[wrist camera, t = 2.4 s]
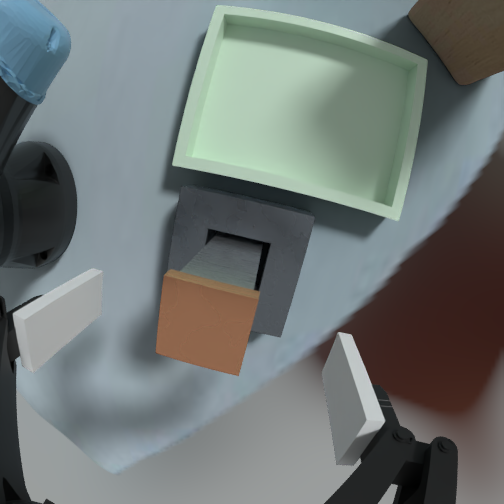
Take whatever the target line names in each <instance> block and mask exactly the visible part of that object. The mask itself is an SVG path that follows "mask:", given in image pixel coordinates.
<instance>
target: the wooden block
mask: <svg viewBox="0 0 504 504" xmlns="http://www.w3.org/2000/svg"><path fill="white" fill-rule="evenodd" d="M408 16H409V18H410V20H411V22H412V23H413V24H414V25H415V26H416V27H417V29H418V30H419V31H420V32H421V34H422V35H423V36H424V37H425V39H426V40H427V41H428V43H429V44H430V45H431V47H432V48H433V49H434V51H435V52H436V53H437V55H438V56H439V57H440V59H441V60H442V62H443V63H444V65H445V66H446V67H447V69H448V70H449V72H450V73H451V75H452V77H453V78H454V80H455V81H456V82H457V83H458V84H459V85H468V84H471V83H473V82H476V81H478V80H481V79H483V78H486V77H489V76H491V75H494V74H496V73H499V72H502V71H504V0H418V2H417V3H416V4H415V5H414V6H413V7H412V8H411V10H410V11H409V13H408Z"/></svg>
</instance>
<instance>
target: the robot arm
mask: <svg viewBox="0 0 504 504" xmlns="http://www.w3.org/2000/svg"><path fill="white" fill-rule="evenodd" d="M70 49H71V38H70V34H69V32H68V30H67V29H66V28H65V27H64V25H63V24H62V23H61V22H60V21H59V20H58V19H57V18H56V17H55V16H54V15H53V14H52V13H51V12H50V11H49V10H48V9H47V8H46V7H45V6H44V5H42V4H41V3H40V2H39V1H38V0H0V267H8V268H37V267H41V266H43V265H45V264H47V263H50V262H52V261H54V260H55V259H57V258H58V257H59V256H60V255H61V254H62V253H63V252H64V251H65V249H66V248H67V246H68V244H69V242H70V240H71V238H72V235H73V232H74V228H75V223H76V216H77V194H76V187H75V182H74V178H73V175H72V172H71V170H70V167H69V165H68V163H67V161H66V160H65V158H64V157H63V155H62V154H61V153H60V152H59V151H58V150H57V149H56V148H55V147H53V146H52V145H50V144H47V143H44V142H22V143H19V144H16V143H17V141H18V139H19V137H20V135H21V133H22V131H23V129H24V128H25V126H26V124H27V122H28V120H29V119H30V117H31V115H32V113H33V112H34V110H35V108H36V107H37V105H38V104H41V103H42V102H43V100H44V99H45V95H46V91H47V89H48V88H49V86H50V84H51V83H52V81H53V79H54V78H55V76H56V75H57V73H58V72H59V70H60V69H61V67H62V66H63V64H64V63H65V61H66V60H67V58H68V56H69V53H70ZM102 284H103V271H100V270H97V269H94V268H91V269H90V270H88V271H86V272H84V273H82V274H80V275H78V276H77V277H75V278H73V279H71V280H69V281H68V282H66V283H64V284H62V285H60V286H59V287H57V288H55V289H53V290H52V291H50V292H48V293H46V294H45V295H40V296H36V297H33V298H31V299H30V300H28V301H27V302H24V303H23V304H22V305H19V306H18V307H16V308H14V309H12V310H11V311H9V312H7V313H6V306H5V299H4V298H3V297H2V296H0V504H42V503H38V502H34V501H31V499H30V497H29V494H28V492H27V489H26V486H25V481H24V477H23V470H22V463H21V456H20V448H19V439H18V427H17V409H16V361H15V359H16V358H18V357H19V356H20V358H21V363H22V366H23V367H25V368H26V369H28V370H29V371H31V372H33V373H34V372H36V371H37V370H38V369H39V368H40V367H41V366H42V365H43V364H44V363H46V362H47V361H48V360H49V359H50V358H51V357H52V356H53V355H55V354H56V353H57V352H58V351H59V350H60V349H62V348H63V347H64V346H65V345H66V344H67V343H68V342H70V341H71V340H72V339H73V338H74V337H75V336H77V335H78V334H79V333H80V332H81V331H82V330H84V329H85V328H86V327H87V326H88V325H90V324H91V323H92V322H93V321H94V320H96V319H97V318H98V317H99V316H100V315H102ZM322 379H323V385H324V390H325V396H326V402H327V407H328V413H329V419H330V425H331V431H332V437H333V445H334V451H335V458H336V465H354V464H355V463H356V462H357V461H358V459H359V458H361V464H360V465H359V467H358V468H357V469H356V470H355V471H354V472H353V473H352V475H351V476H350V477H349V478H348V479H347V480H346V481H345V482H344V483H343V485H342V486H341V487H340V488H339V489H338V490H337V491H336V492H335V493H334V494H333V495H332V496H331V497H330V498H329V499H328V500H327V501H326V502H325V503H324V504H378V502H379V501H380V500H381V498H382V497H383V495H384V494H385V492H386V491H387V489H388V488H389V486H390V485H391V484H396V485H398V487H397V491H396V494H395V498H394V502H393V504H455V503H456V491H457V490H456V489H457V468H458V450H457V446H456V445H455V443H454V442H453V441H451V440H450V439H447V438H446V437H436V438H435V439H434V440H433V441H432V442H431V443H430V444H427V443H423V442H419V441H416V440H415V436H414V435H413V433H412V432H411V431H409V430H408V429H407V428H404V427H402V426H400V424H399V422H398V419H397V417H396V414H395V412H394V409H393V408H392V405H391V403H390V401H389V398H388V395H387V393H386V392H385V391H384V390H383V388H382V387H381V386H380V385H372V384H371V382H370V380H369V377H368V374H367V372H366V369H365V367H364V364H363V362H362V359H361V357H360V354H359V352H358V349H357V347H356V345H355V342H354V340H353V338H352V335H350V334H344V333H340V332H338V334H337V337H336V339H335V342H334V345H333V347H332V349H331V352H330V354H329V357H328V359H327V361H326V364H325V366H324V369H323V371H322ZM43 504H54V503H53V502H51V501H49V500H48V499H46V500H45V502H44V503H43Z"/></svg>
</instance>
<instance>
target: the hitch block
mask: <svg viewBox="0 0 504 504" xmlns="http://www.w3.org/2000/svg"><path fill="white" fill-rule="evenodd" d="M314 220H315V216H314V215H313V214H312V213H311V212H310V211H306V210H302V209H299V208H295V207H291V206H286V205H282V204H278V203H274V202H270V201H266V200H262V199H257V198H253V197H249V196H244V195H240V194H235V193H231V192H226V191H222V190H217V189H213V188H208V187H203V186H198V185H187V186H181V190H180V195H179V201H178V206H177V212H176V217H175V223H174V229H173V235H172V241H171V248H170V254H169V261H168V268H167V272H168V271H169V270H170V269H173V270H176V271H181V270H182V269H183V268H184V267H185V266H186V265H187V264H188V263H189V262H190V261H191V260H192V258H193V257H194V256H195V255H196V254H197V253H198V252H199V251H200V250H201V249H202V248H203V247H204V246H205V245H206V244H207V243H208V242H209V241H210V240H211V239H212V238H213V237H214V236H215V231H216V230H217V231H222V232H226V233H230V234H234V235H238V236H243V237H247V238H251V239H255V240H259V241H264V242H268V243H269V247H268V251H267V255H266V259H265V263H264V267H263V271H262V275H261V279H260V283H259V285H255V286H254V290H256V291H260V295H259V301H258V304H257V308H256V312H255V316H254V320H253V324H252V327H251V331H254V332H258V333H263V334H267V335H272V336H276V337H281V335H282V331H283V328H284V325H285V322H286V318H287V315H288V312H289V309H290V305H291V302H292V299H293V295H294V292H295V288H296V285H297V282H298V278H299V275H300V271H301V268H302V264H303V261H304V257H305V253H306V250H307V246H308V242H309V239H310V235H311V231H312V227H313V224H314Z"/></svg>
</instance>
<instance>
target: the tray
mask: <svg viewBox="0 0 504 504" xmlns="http://www.w3.org/2000/svg"><path fill="white" fill-rule="evenodd" d="M427 63H428V60H427V59H425V58H422V57H420V56H418V55H416V54H414V53H411V52H409V51H407V50H404V49H402V48H399V47H397V46H395V45H392V44H389V43H387V42H384V41H382V40H379V39H376V38H373V37H371V36H368V35H365V34H362V33H359V32H356V31H352V30H349V29H346V28H342V27H339V26H335V25H332V24H328V23H324V22H320V21H316V20H312V19H308V18H303V17H299V16H294V15H289V14H283V13H278V12H272V11H265V10H258V9H251V8H242V7H232V6H220V5H216V8H215V11H214V13H213V16H212V19H211V22H210V25H209V28H208V31H207V34H206V37H205V40H204V43H203V47H202V50H201V53H200V56H199V60H198V63H197V66H196V70H195V73H194V77H193V80H192V84H191V88H190V91H189V95H188V99H187V103H186V106H185V110H184V114H183V119H182V123H181V127H180V131H179V135H178V140H177V144H176V149H175V153H174V158H173V163H172V165H173V166H178V167H184V168H189V169H194V170H199V171H204V172H209V173H214V174H219V175H224V176H229V177H233V178H238V179H242V180H247V181H251V182H256V183H260V184H265V185H269V186H273V187H277V188H281V189H285V190H289V191H293V192H297V193H301V194H305V195H309V196H313V197H317V198H320V199H324V200H328V201H332V202H335V203H339V204H342V205H346V206H349V207H353V208H356V209H360V210H363V211H367V212H370V213H373V214H377V215H380V216H383V217H386V218H390V219H393V220H396V221H399V218H400V215H401V211H402V207H403V203H404V199H405V195H406V191H407V187H408V183H409V178H410V174H411V169H412V165H413V160H414V155H415V150H416V144H417V139H418V133H419V127H420V121H421V115H422V108H423V100H424V92H425V84H426V74H427Z"/></svg>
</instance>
